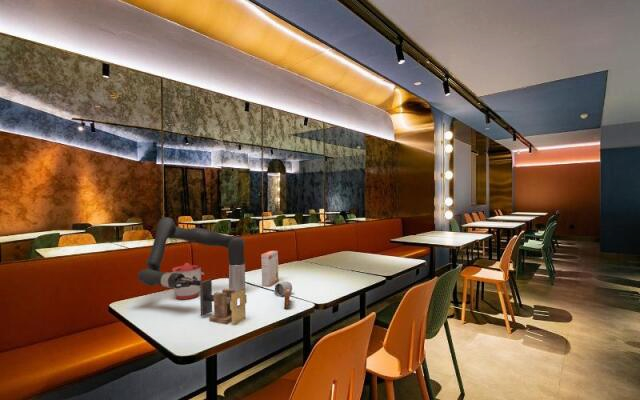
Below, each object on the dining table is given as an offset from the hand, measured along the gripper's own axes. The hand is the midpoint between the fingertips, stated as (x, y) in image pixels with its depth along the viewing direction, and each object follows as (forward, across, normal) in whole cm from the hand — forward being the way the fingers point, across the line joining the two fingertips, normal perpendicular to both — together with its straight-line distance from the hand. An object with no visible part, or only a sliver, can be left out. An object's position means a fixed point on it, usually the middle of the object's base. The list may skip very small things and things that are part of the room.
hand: (200, 283), depth 156 cm
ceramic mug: (+26, -39, -16) cm, 49 cm away
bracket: (+16, +3, -15) cm, 22 cm away
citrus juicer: (-25, -20, -16) cm, 36 cm away
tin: (+36, -23, -15) cm, 46 cm away
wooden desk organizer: (+12, +3, -14) cm, 18 cm away
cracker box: (+8, -58, -17) cm, 60 cm away
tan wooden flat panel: (+24, +4, -14) cm, 28 cm away
